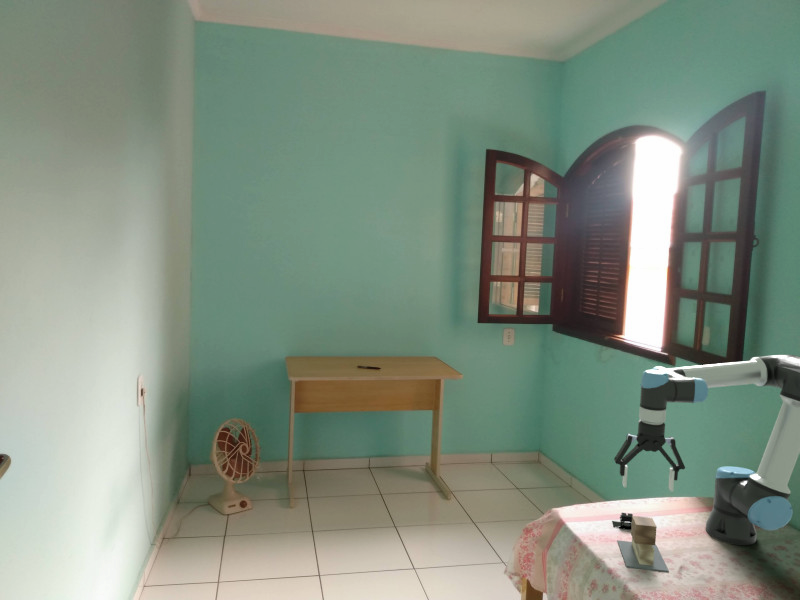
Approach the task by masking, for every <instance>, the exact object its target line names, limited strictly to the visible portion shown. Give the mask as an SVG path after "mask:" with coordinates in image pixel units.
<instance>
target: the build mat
mask: <svg viewBox="0 0 800 600" xmlns="http://www.w3.org/2000/svg"><path fill="white" fill-rule="evenodd" d="M617 544H618V546H619V549H620V553H621V555H622V557H623V558H622V559H623V561H624V563H625V567H626V568H631V569H639V570H648V571H657V572H664V573H669V572H670V571H669V569H668V567H667V564H666V562H665V559H664V558H663V555H662V554H661V552H660V549H659V547H658V545H657V544H656V543H655V545H652V546H653V548H654V561H653V566H652V565H643V564H639V562H638V560H637V557H636V555H635V552H634V550H633V547H632V541H627V540H618V539H617Z"/></svg>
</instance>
